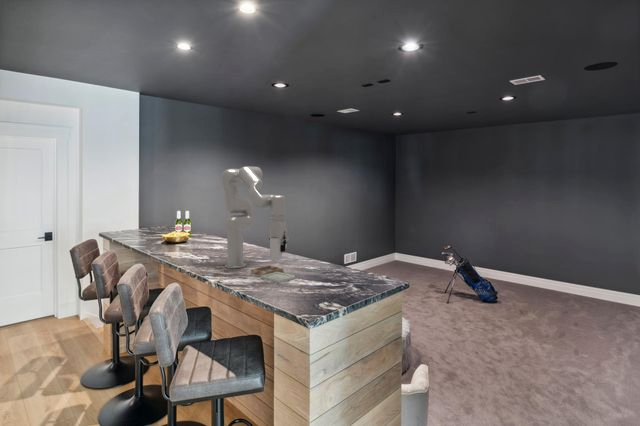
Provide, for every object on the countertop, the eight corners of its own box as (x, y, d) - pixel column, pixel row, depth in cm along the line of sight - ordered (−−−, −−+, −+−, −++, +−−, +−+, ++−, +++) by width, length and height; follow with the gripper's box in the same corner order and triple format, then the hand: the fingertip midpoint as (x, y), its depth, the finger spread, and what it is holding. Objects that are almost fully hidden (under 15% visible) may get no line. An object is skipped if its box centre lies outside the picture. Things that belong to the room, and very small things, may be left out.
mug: (273, 261, 197) (273, 238, 196) (267, 258, 202) (267, 236, 201) (289, 258, 203) (290, 237, 202) (283, 256, 208) (283, 235, 207)
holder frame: (251, 273, 215) (251, 269, 215) (270, 268, 226) (270, 265, 226) (264, 276, 207) (264, 272, 207) (283, 271, 219) (283, 268, 218)
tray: (261, 278, 204) (261, 275, 204) (277, 274, 213) (277, 271, 213) (279, 283, 195) (279, 280, 195) (294, 278, 204) (294, 275, 204)
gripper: (262, 217, 203) (262, 249, 205) (284, 220, 192) (284, 254, 194) (272, 216, 209) (272, 248, 211) (294, 218, 198) (294, 252, 200)
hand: (278, 250), depth 202 cm, fingers closed on mug, 6 cm apart
